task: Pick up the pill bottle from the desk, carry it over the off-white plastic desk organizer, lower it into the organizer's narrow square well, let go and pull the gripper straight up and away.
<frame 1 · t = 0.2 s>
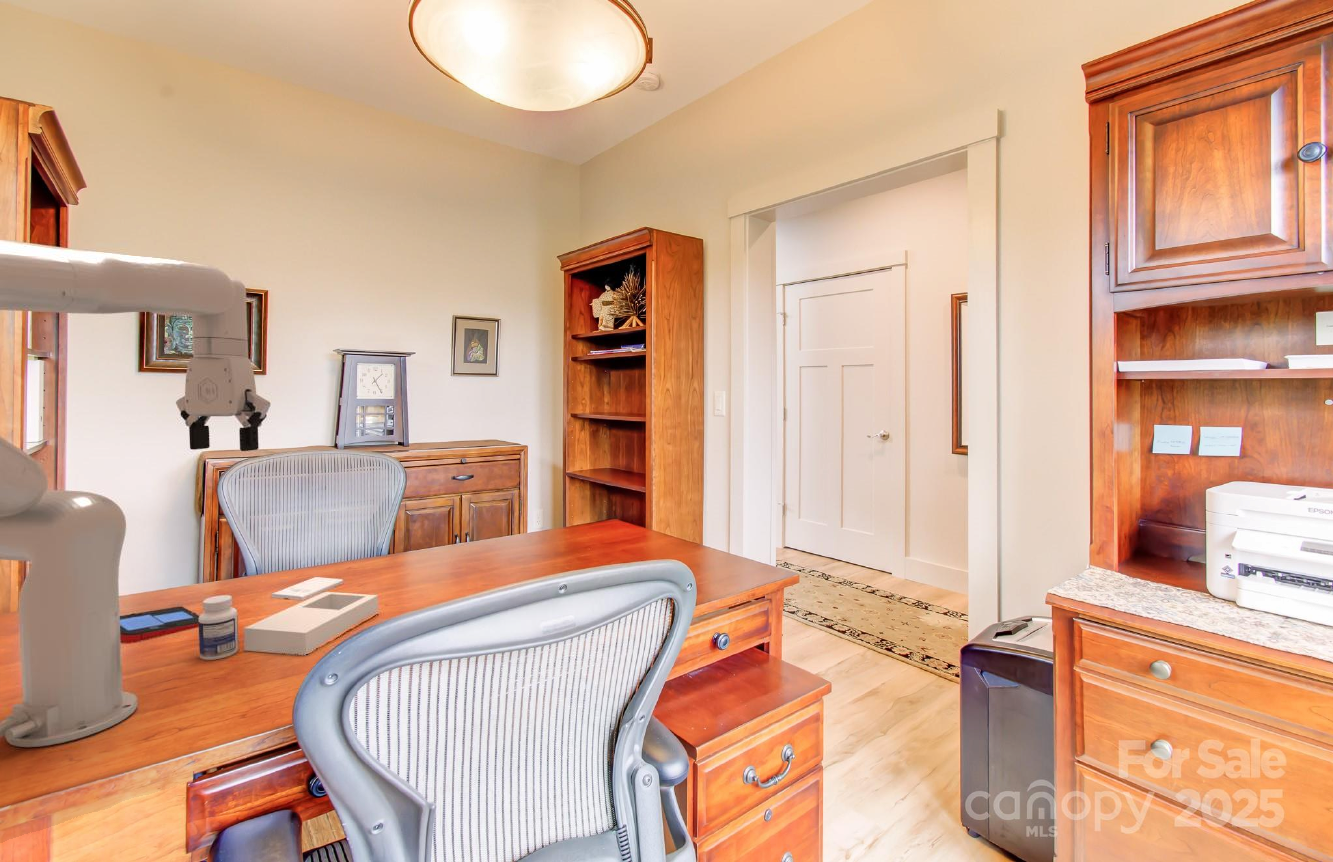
hand: (224, 449, 103), 35 cm above the table, tool pointing down, fingers open, 9 cm apart
desk organizer: (316, 630, 113), on the table
game console: (156, 629, 115), on the table
external hard drive: (308, 593, 137), on the table
pill bottle: (219, 655, 102), on the table
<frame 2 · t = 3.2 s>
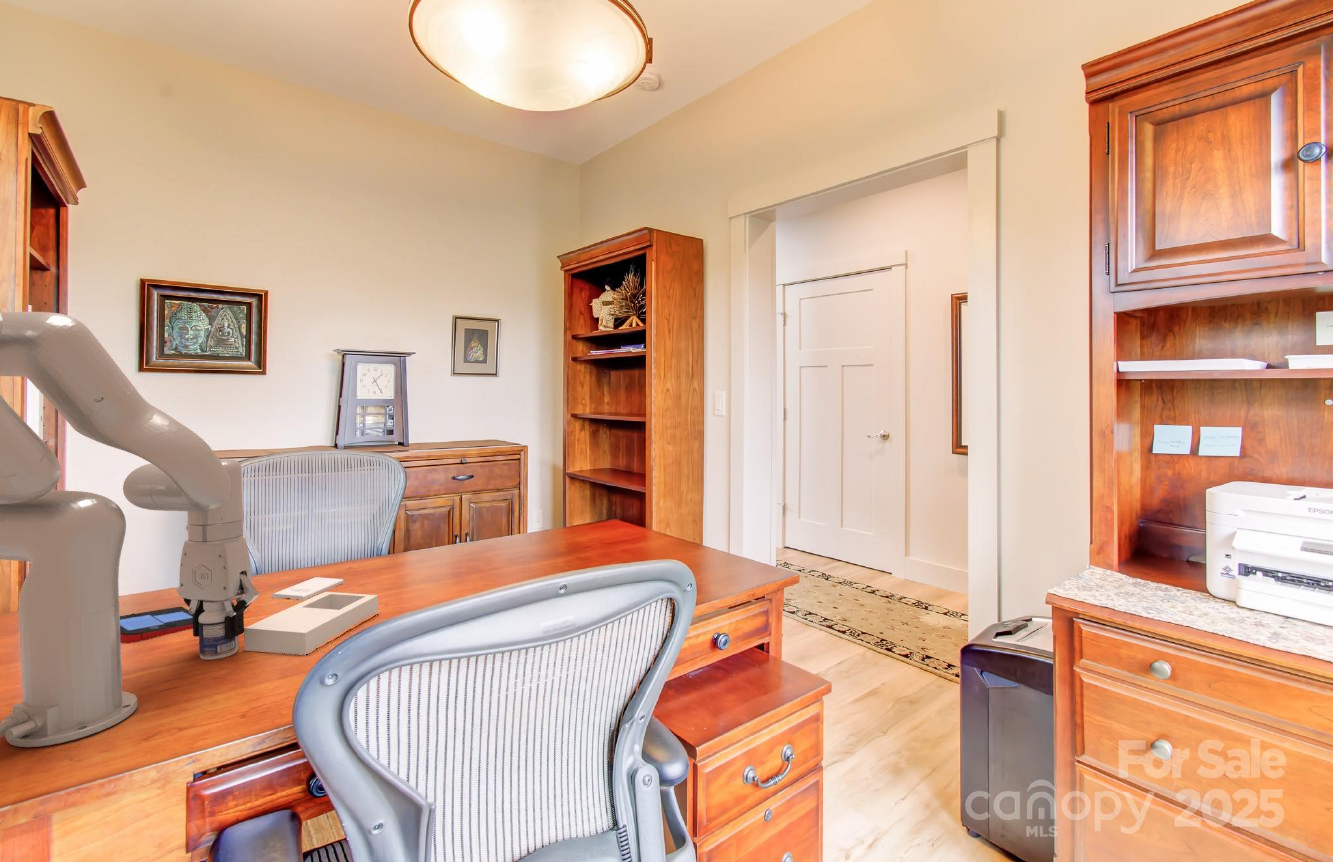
hand: (218, 634, 102), 4 cm above the table, tool pointing down, fingers closed on pill bottle, 5 cm apart
pill bottle: (219, 655, 102), on the table, touching gripper
everything else where it was.
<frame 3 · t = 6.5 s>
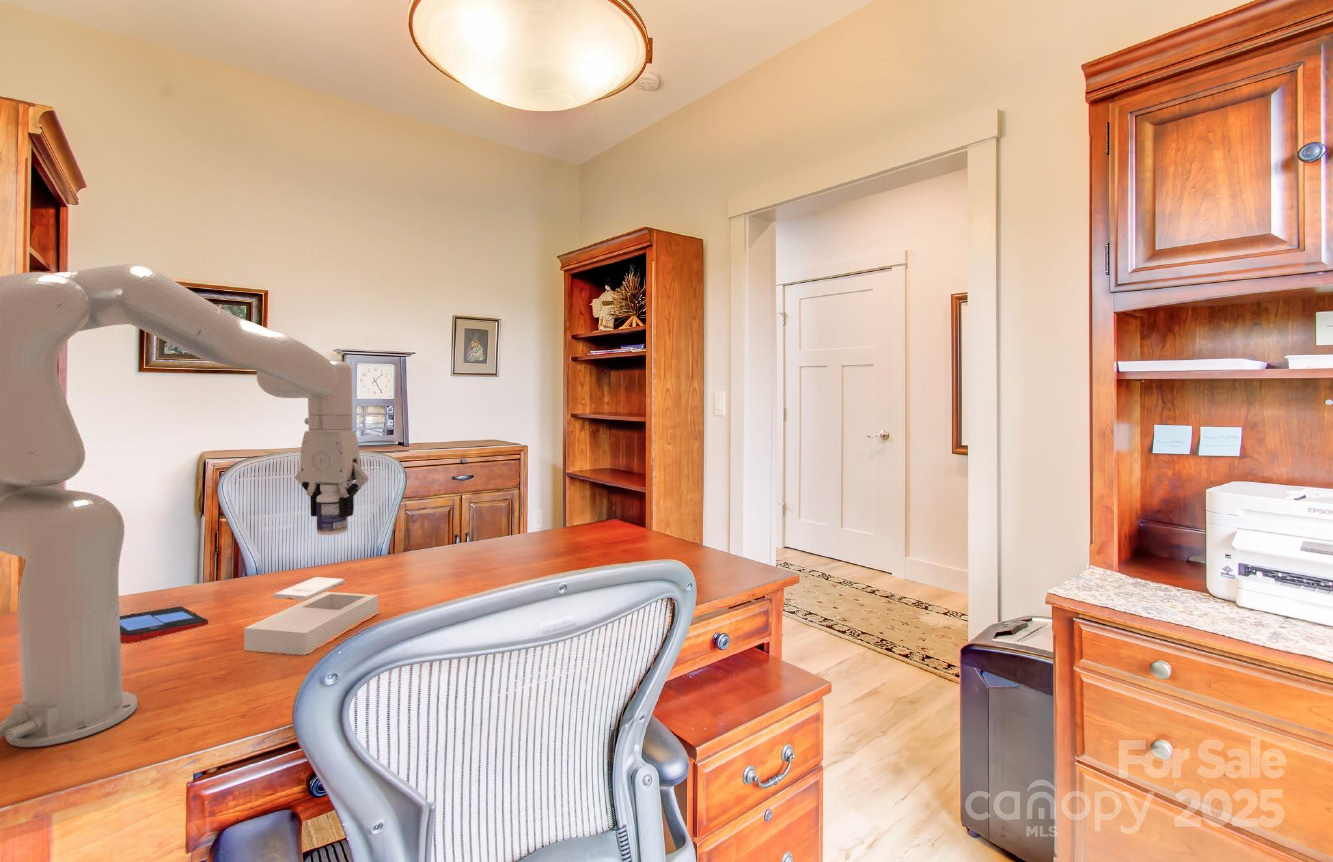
hand: (332, 514, 117), 21 cm above the table, tool pointing down, fingers closed on pill bottle, 5 cm apart
pill bottle: (332, 533, 117), point 18 cm above the table, touching gripper
everything else where it was.
when the fingers open (5 cm above the table, at t = 10.0 s): pill bottle drops 1 cm, resting on desk organizer.
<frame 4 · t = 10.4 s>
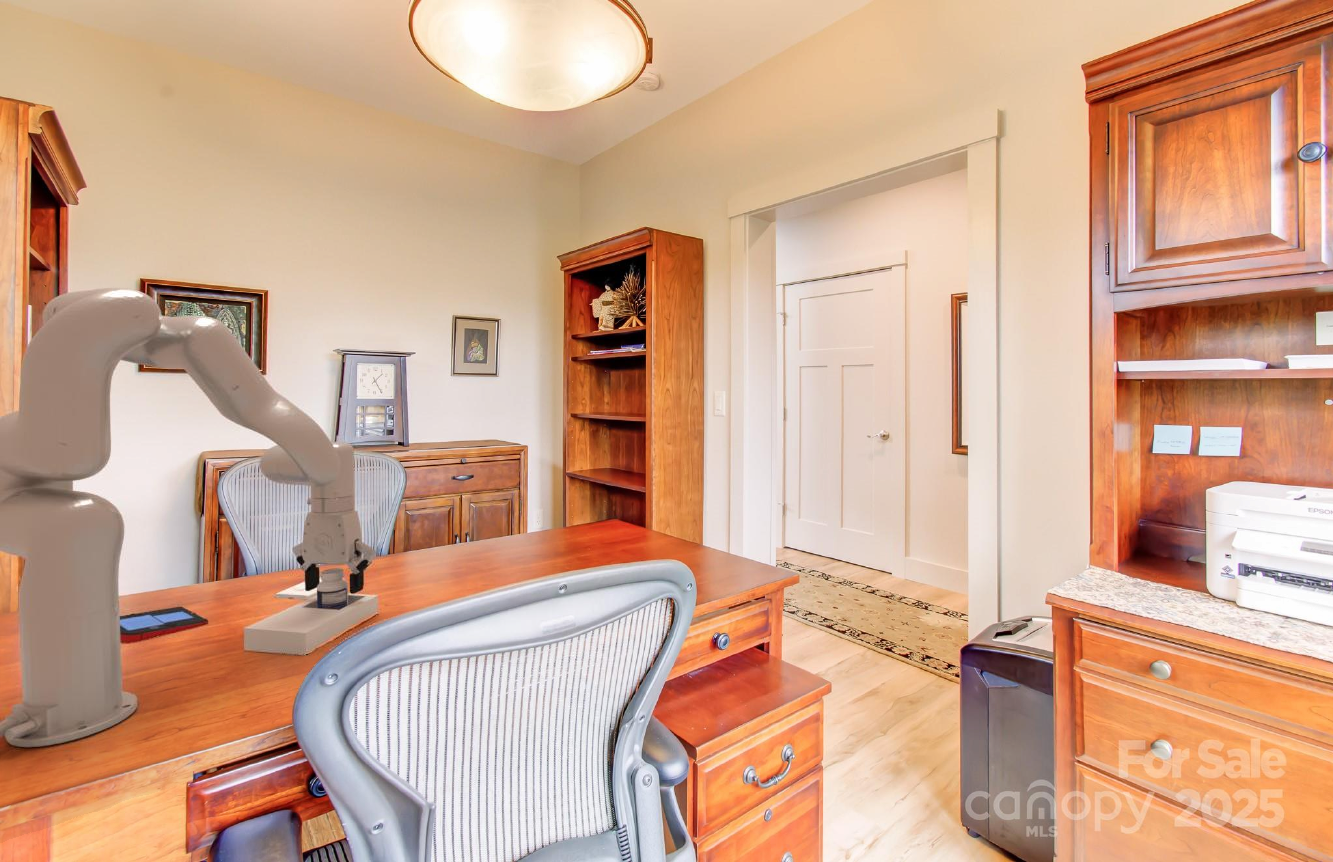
hand: (334, 590, 118), 6 cm above the table, tool pointing down, fingers open, 9 cm apart
pill bottle: (333, 620, 118), resting on desk organizer
everything else where it was.
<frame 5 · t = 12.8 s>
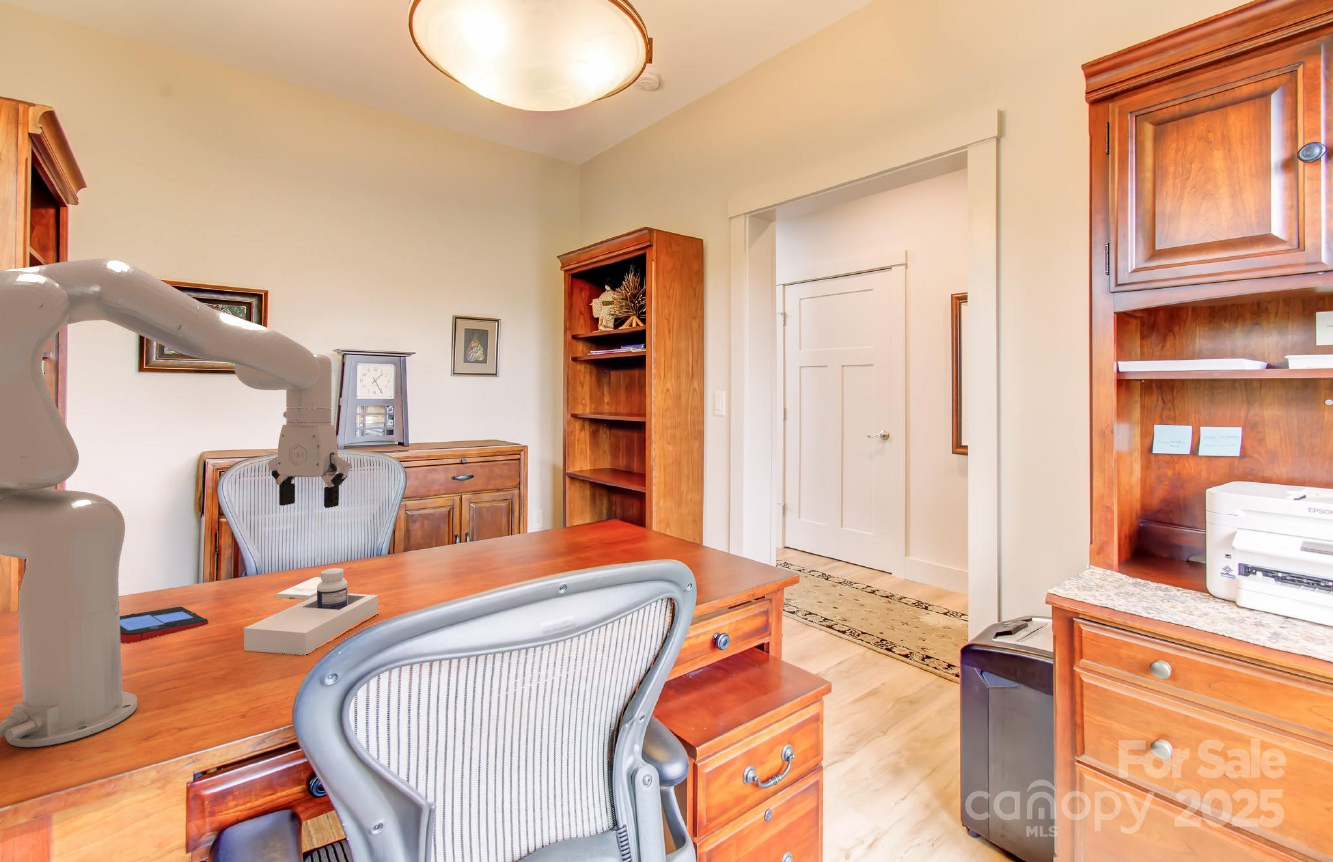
hand: (309, 505, 115), 24 cm above the table, tool pointing down, fingers open, 9 cm apart
nothing on the table moved.
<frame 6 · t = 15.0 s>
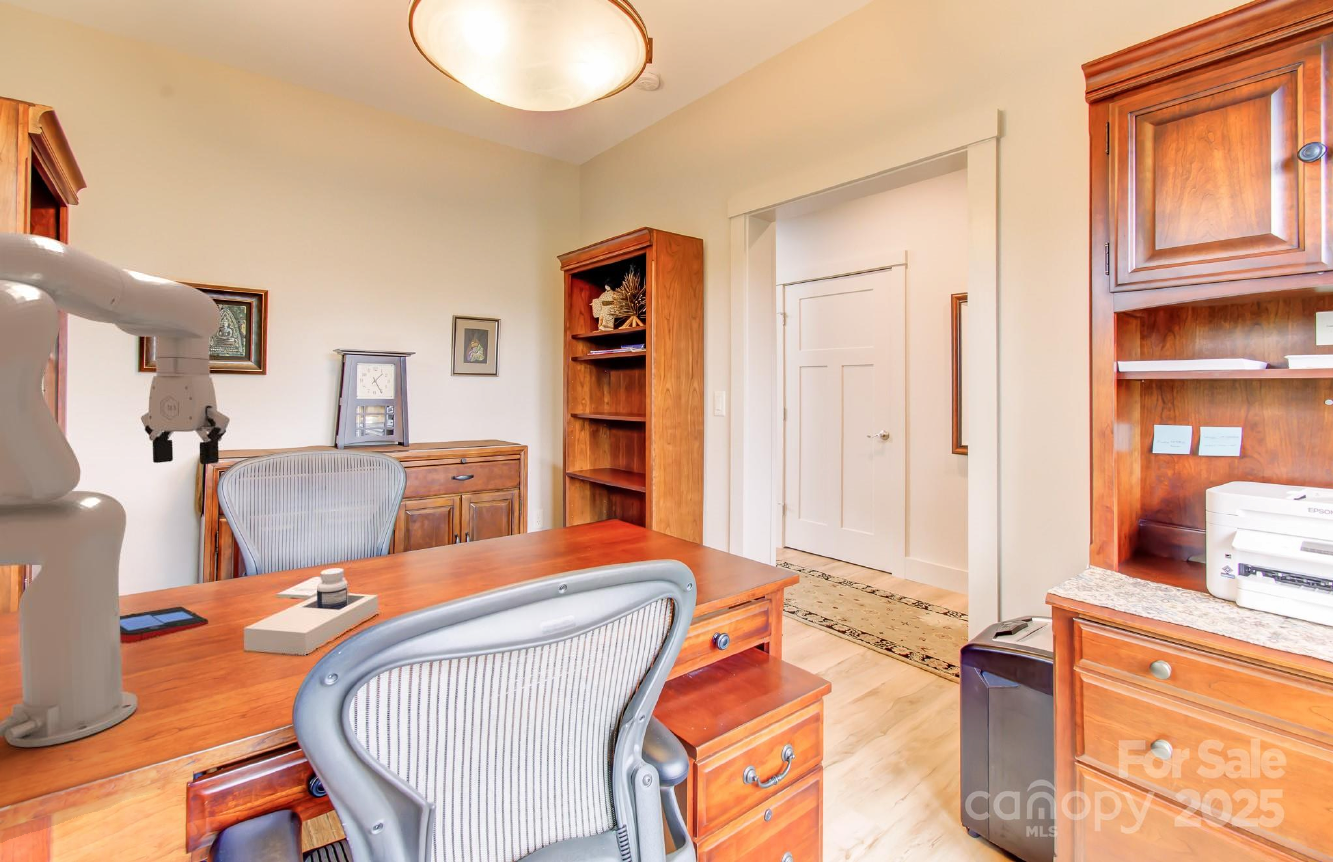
hand: (186, 462, 108), 32 cm above the table, tool pointing down, fingers open, 9 cm apart
nothing on the table moved.
at the end: pill bottle 0.4 cm from the target spot on the desk organizer, point 0.3 cm above the desk organizer's base; pill bottle tilted 0°; the gripper is holding nothing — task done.
